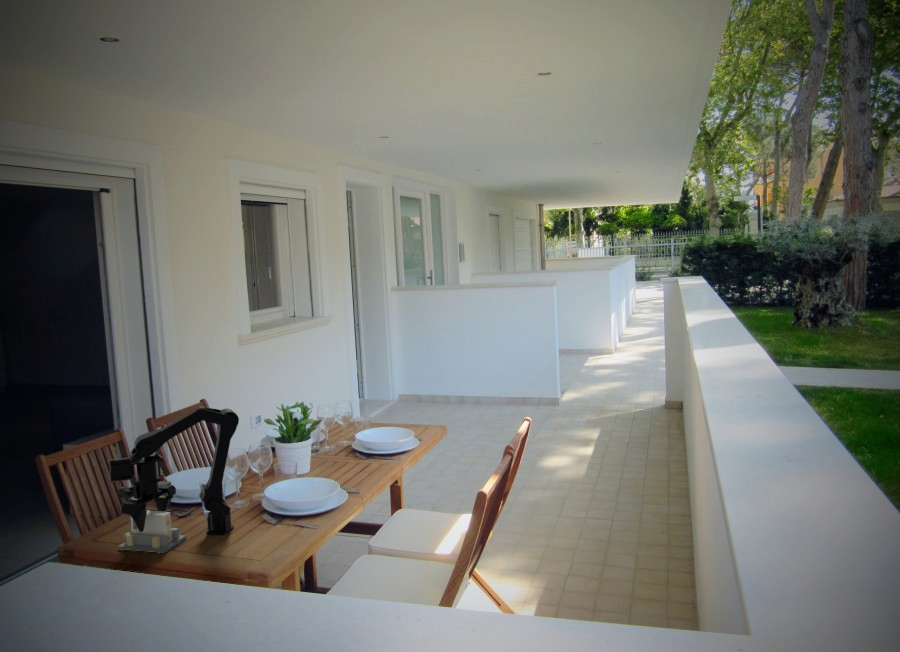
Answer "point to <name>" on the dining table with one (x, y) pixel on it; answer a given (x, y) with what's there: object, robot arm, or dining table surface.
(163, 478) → the sundae
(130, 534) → the clip plinth
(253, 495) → the dining table surface
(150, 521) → the white rectangular block
